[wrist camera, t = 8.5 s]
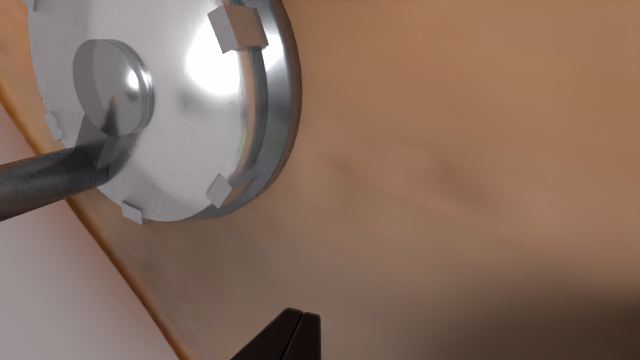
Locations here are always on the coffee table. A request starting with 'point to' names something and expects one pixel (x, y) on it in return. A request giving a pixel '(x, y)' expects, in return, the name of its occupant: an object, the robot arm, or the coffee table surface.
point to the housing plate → (273, 102)
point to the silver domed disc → (144, 105)
